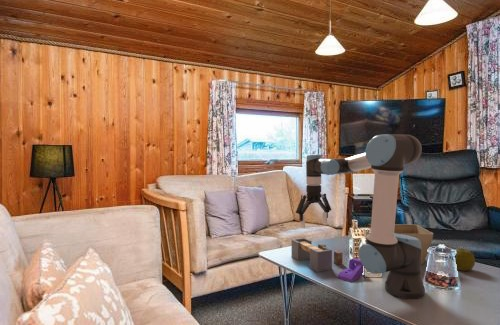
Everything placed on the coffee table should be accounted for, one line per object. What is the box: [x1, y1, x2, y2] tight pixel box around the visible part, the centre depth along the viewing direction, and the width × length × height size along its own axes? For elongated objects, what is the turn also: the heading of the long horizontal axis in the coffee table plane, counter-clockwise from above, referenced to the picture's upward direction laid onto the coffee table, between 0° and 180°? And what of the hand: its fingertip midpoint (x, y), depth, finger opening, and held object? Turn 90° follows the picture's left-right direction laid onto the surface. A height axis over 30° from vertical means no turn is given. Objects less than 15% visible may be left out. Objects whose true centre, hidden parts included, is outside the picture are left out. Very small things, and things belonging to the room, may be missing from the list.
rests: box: [317, 243, 344, 266], centre depth 181 cm, size 17×3×6 cm, turn 24°
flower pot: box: [394, 223, 434, 265], centre depth 178 cm, size 19×19×17 cm
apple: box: [455, 248, 476, 272], centre depth 165 cm, size 10×10×11 cm
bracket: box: [337, 257, 363, 283], centre depth 158 cm, size 12×7×7 cm, turn 134°
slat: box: [300, 241, 323, 253], centre depth 176 cm, size 18×4×2 cm, turn 24°
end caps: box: [291, 237, 333, 273], centre depth 176 cm, size 24×8×10 cm, turn 24°
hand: (313, 226), depth 175 cm, fingers open, 13 cm apart
